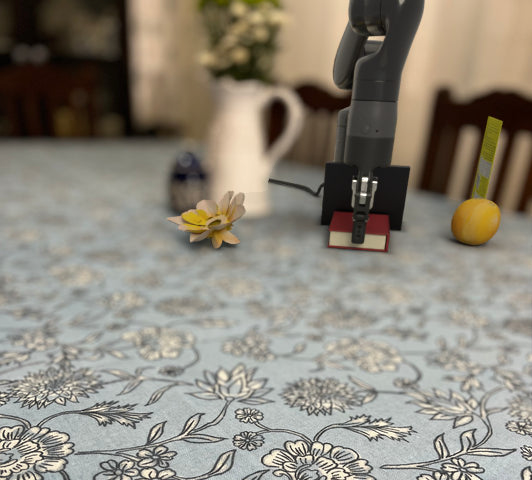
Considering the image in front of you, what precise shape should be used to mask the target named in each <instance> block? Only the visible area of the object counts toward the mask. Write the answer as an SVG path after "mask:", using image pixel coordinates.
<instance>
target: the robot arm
mask: <svg viewBox="0 0 532 480" xmlns="http://www.w3.org/2000/svg"><path fill="white" fill-rule="evenodd" d="M425 3H426V0H349V1H348V8H347V15H348V20H347V23H346V26H345V28H344V31H343V33H342V35H341V38H340V41H339V43H338V45H337V46H338V47H337V49H336V51H335V55H334V59H333V65H332V80H333V83H334V85H335V87H336V88H338V89H339V90H342V91H349V92H351V101H350V105H349V106H348V107H345V108H343V109H340V110H339V111H338V113H337V116H336V127H335V128H336V129H335V140H334V153H333V160H331V162H344V163H345V164H347V165H350V166H357V167H358V168H359V175H358V176H353V181H352V190H353V196H352V207H353V208H354V210H353V211H354V213H353V214H352V219H353V229H352V238H351V242H352V243H353V244H363V243H364V240H365V232H366V224H367V221H368V220H369V210H370V209H371V208H372V207H373V199H374V192H375V191H376V188H377V181H378V180H377V178H378V177H373V171H374V169H375V168H385V167H388V166H390V165H392V160H393V152H394V147H395V139H396V131H397V124H398V105H399V98H400V97H399V96H400V89H401V83H402V82H401V81H402V75H403V71H404V68H405V65H406V62H407V60H408V56H409V53H410V51H411V48H412V45H413V43H414V40H415V38H416V35H417V34H418V33H417V32H418V31H419V27H420V24H421V22H422V19H423V15H424V11H425V5H426V4H425ZM369 37H371V38H372V37H373V38H374V37H384V38H383V40H378V39H375V40H374V39H369ZM268 178H269V177H268ZM268 182H270V183H274V184H275V183H276V184H280V185H284V186H289V187H294V188H299V189H303V190H306V191H307V192H308V193H309V194H311V196H314V197H318V196H319V195H320V193H321V191H322V189H324V182H322V183H321V184H320V185H319V186H318V188H317V190H316V192H315V191H314V190H312V189H311V188H310V187H309V186H306V185H304V184H299V183H294V182H290V181H284V180H279V179H276V178H275V179H274V178H269V181H268Z"/></svg>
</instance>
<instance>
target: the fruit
mask: <svg viewBox="0 0 532 480" xmlns="http://www.w3.org/2000/svg"><path fill="white" fill-rule="evenodd" d="M501 220H502V215H501V210H500V208H499V206H498V205H497V204H496V203H495V202H493V201H492V200H490V199H487V198H486V199H481V198H474V199H471V198H470V199H467V200H465V201H463V202H462V203H461V204H459V206H457V208H456V209H455V211H454V212H453V215H452V217H451V221H450V230H451V233H452V235H453V237H454V238H455V239H456V240H457V241H458V242H460V243H462V244H466V245H469V246H478V245H483V244H485V243H487V242H489V241H491V239H492V238H493V237H494V236H495V235H496V233H497V232H498V231H499V227H500V224H501Z"/></svg>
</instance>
